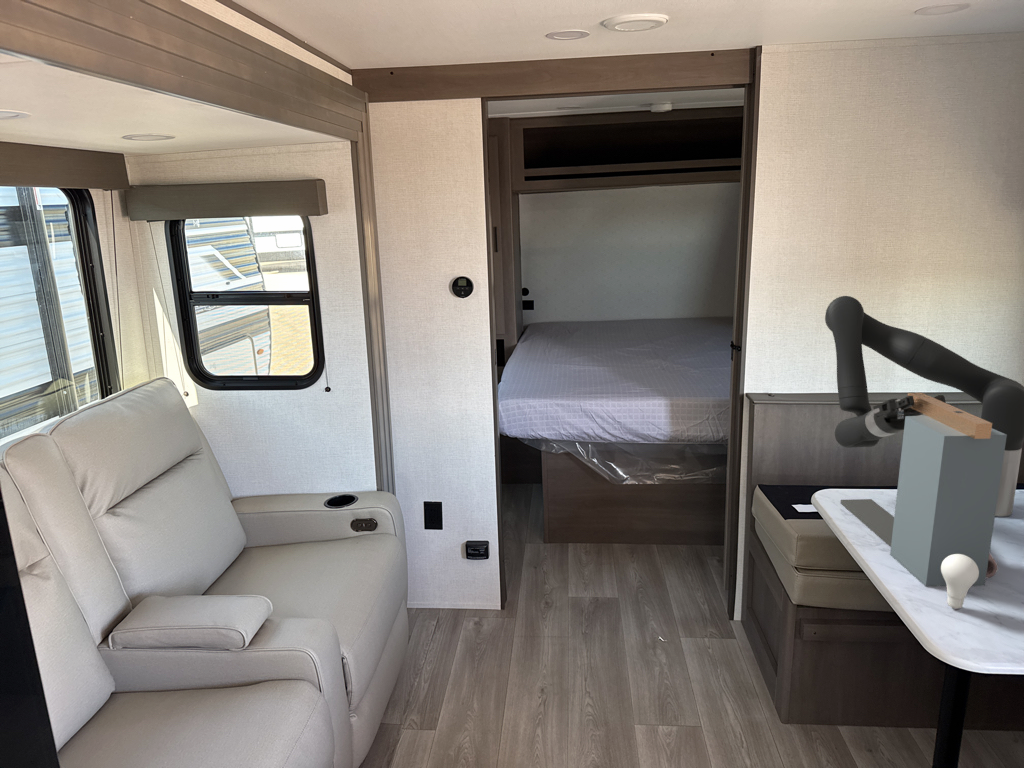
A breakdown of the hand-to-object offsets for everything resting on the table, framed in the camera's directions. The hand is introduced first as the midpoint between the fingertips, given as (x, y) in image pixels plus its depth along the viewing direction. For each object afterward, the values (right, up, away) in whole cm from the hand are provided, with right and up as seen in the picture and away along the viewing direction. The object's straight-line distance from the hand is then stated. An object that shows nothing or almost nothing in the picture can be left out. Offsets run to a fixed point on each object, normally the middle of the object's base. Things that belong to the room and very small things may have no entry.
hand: (927, 399), depth 154 cm
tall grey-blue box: (+1, -36, -2) cm, 36 cm away
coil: (+12, -35, +3) cm, 37 cm away
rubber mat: (+1, -31, +21) cm, 37 cm away
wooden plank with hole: (0, -4, -6) cm, 7 cm away
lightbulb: (-4, -40, -16) cm, 43 cm away
